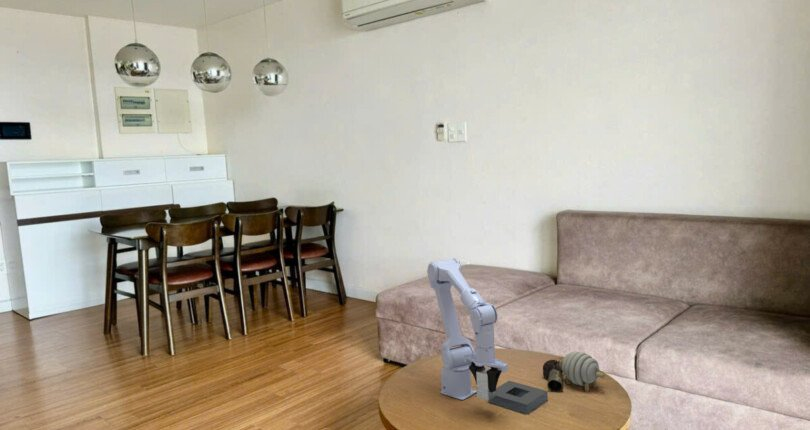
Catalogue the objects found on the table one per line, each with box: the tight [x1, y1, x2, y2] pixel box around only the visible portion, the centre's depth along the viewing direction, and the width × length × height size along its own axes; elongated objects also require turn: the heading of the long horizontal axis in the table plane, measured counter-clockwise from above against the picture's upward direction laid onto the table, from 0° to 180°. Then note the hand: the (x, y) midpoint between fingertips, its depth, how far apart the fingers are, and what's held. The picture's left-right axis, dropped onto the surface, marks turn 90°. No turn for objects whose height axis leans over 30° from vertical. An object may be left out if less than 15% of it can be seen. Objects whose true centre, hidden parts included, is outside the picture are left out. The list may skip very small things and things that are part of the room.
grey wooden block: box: [476, 366, 496, 402], centre depth 168 cm, size 4×4×8 cm
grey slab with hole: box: [487, 380, 549, 415], centre depth 175 cm, size 14×12×3 cm
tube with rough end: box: [542, 359, 564, 393], centre depth 189 cm, size 18×7×6 cm, turn 163°
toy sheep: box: [559, 351, 606, 392], centre depth 183 cm, size 11×17×11 cm, turn 41°
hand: (486, 389), depth 168 cm, fingers closed on grey wooden block, 4 cm apart
